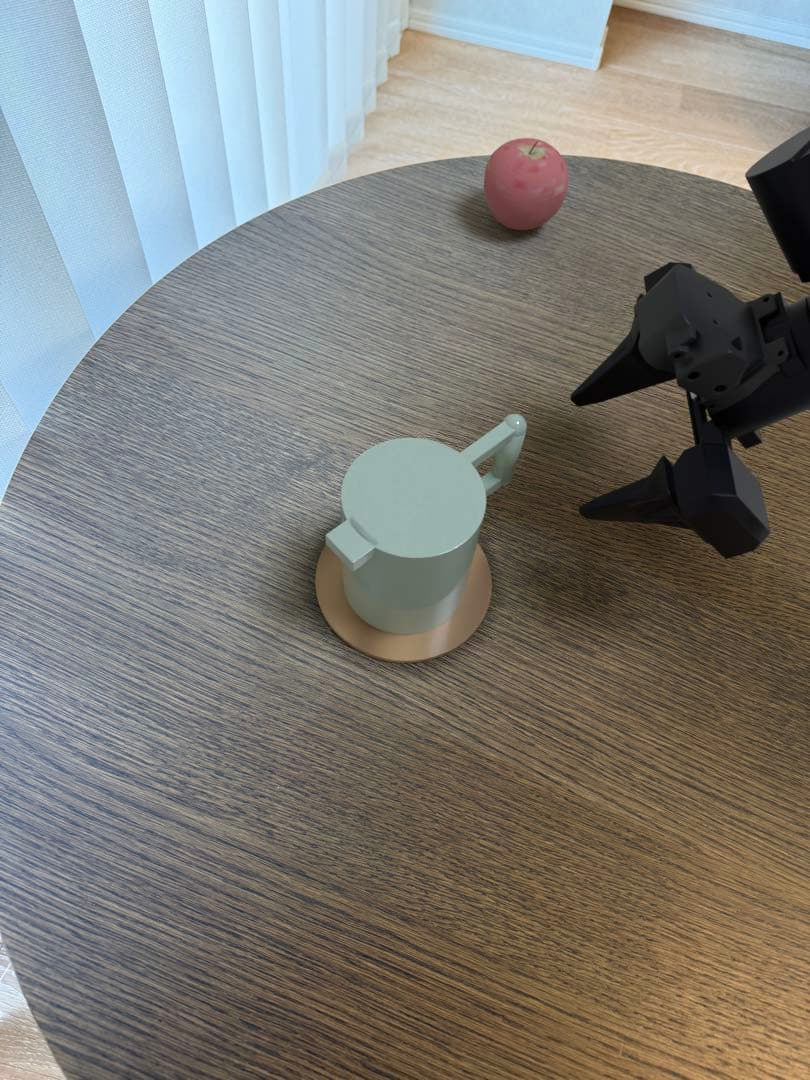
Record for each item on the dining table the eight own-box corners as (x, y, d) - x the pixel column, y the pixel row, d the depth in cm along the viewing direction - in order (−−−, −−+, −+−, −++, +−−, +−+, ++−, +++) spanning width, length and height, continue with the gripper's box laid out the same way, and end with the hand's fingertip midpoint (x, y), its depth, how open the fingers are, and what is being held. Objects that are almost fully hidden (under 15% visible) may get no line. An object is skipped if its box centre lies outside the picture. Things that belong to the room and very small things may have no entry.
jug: (383, 673, 52) (390, 598, 43) (300, 584, 55) (290, 497, 46) (541, 543, 58) (576, 453, 49) (458, 469, 61) (477, 372, 52)
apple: (537, 190, 79) (555, 110, 73) (569, 239, 76) (590, 160, 69) (466, 202, 78) (477, 121, 71) (494, 253, 74) (509, 173, 67)
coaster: (510, 536, 58) (511, 533, 58) (463, 687, 52) (464, 685, 52) (351, 488, 60) (351, 485, 60) (288, 629, 54) (287, 627, 53)
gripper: (736, 135, 44) (502, 281, 54) (808, 396, 35) (506, 521, 44) (812, 264, 51) (592, 374, 60) (890, 513, 41) (613, 599, 51)
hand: (577, 455), depth 54 cm, fingers open, 9 cm apart
